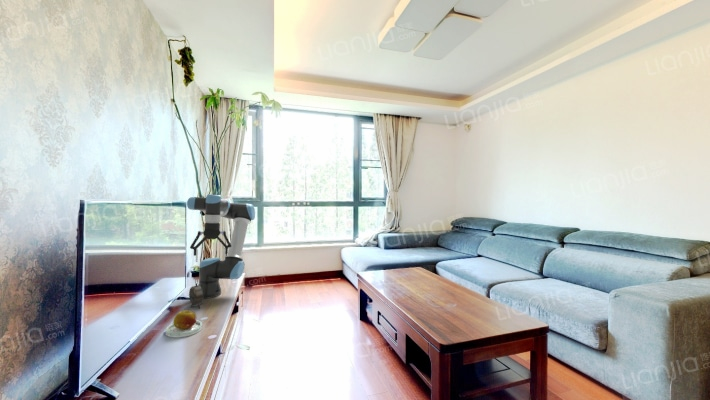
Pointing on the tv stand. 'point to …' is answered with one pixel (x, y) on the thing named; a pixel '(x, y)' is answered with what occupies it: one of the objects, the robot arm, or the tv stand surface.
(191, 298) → the alarm clock
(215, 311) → the tv stand surface
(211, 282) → the robot arm
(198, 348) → the tv stand surface
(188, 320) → the fruit
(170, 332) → the dish
